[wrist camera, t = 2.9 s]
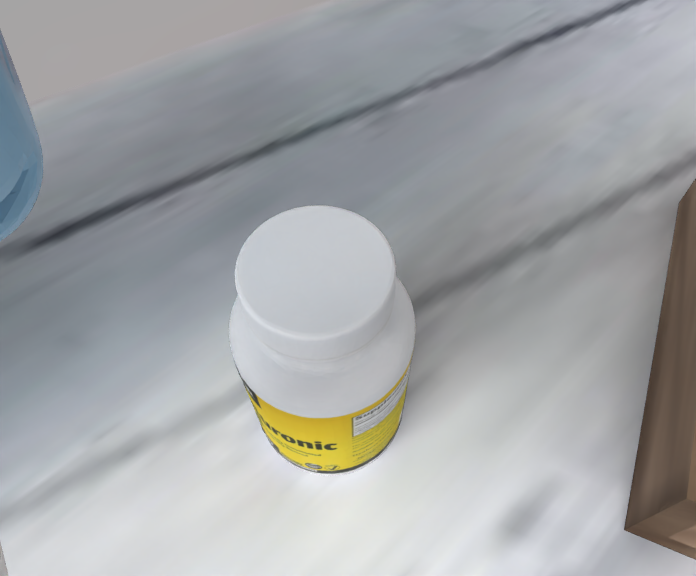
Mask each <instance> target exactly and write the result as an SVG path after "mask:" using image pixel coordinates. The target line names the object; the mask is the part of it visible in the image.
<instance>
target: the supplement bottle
mask: <svg viewBox="0 0 696 576" xmlns="http://www.w3.org/2000/svg"><path fill="white" fill-rule="evenodd" d="M235 285H236V290H237V293H238V296H237V298H236V300H235V302H234V305H233V308H232V311H231V316H230V322H229V341H230V348H231V351H232V355H233V358H234V362H235V365H236V368H237V370H238V372H239V375H240V377H241V379H242V381H243V383H244V386H245V388H246V391H247V393H248V395H249V397H250V400H251V402H252V404H253V406H254V409H255V411H256V414H257V416H258V418H259V421H260V423H261V426H262V429H263V431H264V433H265V434H266V436H267V438H268V440H269V442H270V443H271V445H272V446H273V448H274V449H275V450H276V452H277V453H278V454H279V455H280V456H281V457H282V458H283V459H284V460H286V461H287V462H288V463H290V464H291V465H293V466H294V467H296V468H298V469H300V470H302V471H305V472H308V473H312V474H316V475H321V476H339V475H345V474H349V473H352V472H355V471H357V470H360V469H362V468H364V467H366V466H367V465H369V464H370V463H372V462H373V461H375V460H376V459H377V458H378V457H379V456H380V455H381V454H382V453H383V452H384V451H385V450H386V449H387V447H388V446H389V445H390V443H391V442H392V440H393V438H394V436H395V434H396V432H397V430H398V427H399V425H400V421H401V417H402V411H403V407H404V400H405V394H406V389H407V383H408V377H409V372H410V365H411V360H412V355H413V349H414V344H415V328H416V327H415V315H414V310H413V306H412V302H411V300H410V297H409V295H408V293H407V291H406V289H405V287H404V286H403V284H402V282H401V281H400V280H399V278H398V277H397V276H396V262H395V258H394V254H393V251H392V248H391V246H390V244H389V242H388V240H387V239H386V237H385V236H384V235H383V233H382V232H381V231H380V230H379V229H378V228H377V227H376V226H375V225H374V224H373V223H371V222H370V221H369V220H367V219H366V218H364V217H362V216H361V215H359V214H357V213H354V212H352V211H349V210H347V209H343V208H339V207H334V206H325V205H312V206H302V207H298V208H293V209H290V210H287V211H284V212H281V213H279V214H277V215H275V216H273V217H271V218H270V219H268V220H266V221H265V222H264V223H262V224H261V225H260V226H259V227H258V228H256V229H255V230H254V231H253V232H252V234H251V235H250V236H249V237H248V238H247V240H246V241H245V243H244V244H243V246H242V248H241V250H240V253H239V255H238V258H237V261H236V267H235Z"/></svg>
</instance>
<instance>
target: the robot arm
mask: <svg viewBox="0 0 696 576" xmlns="http://www.w3.org/2000/svg"><path fill="white" fill-rule="evenodd" d="M42 178H43V156H42V149H41V145H40V141H39V137H38V133H37V130H36V127H35V124H34V121H33V117H32V114H31V111H30V108H29V106H28V103H27V100H26V98H25V94H24V92H23V89H22V86H21V83H20V81H19V78H18V75H17V73H16V70H15V67H14V64H13V62H12V59H11V56H10V54H9V51H8V48H7V46H6V43H5V41H4V38H3V36H2V33H1V30H0V241H1V240H3V239H4V238H6V237H7V236H8V235H10V234H11V233H12V232H13V231H14V230H16V229H17V228H18V227H19V226H20V224H21V223H22V222H23V221H24V220H25V218H26V217H27V216H28V214H29V213H30V211H31V210H32V208H33V206H34V204H35V202H36V200H37V197H38V194H39V190H40V187H41V183H42ZM0 576H8V572H7V568H6V563H5V559H4V555H3V551H2V547H1V542H0Z"/></svg>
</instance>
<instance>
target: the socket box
mask: <svg viewBox="0 0 696 576" xmlns="http://www.w3.org/2000/svg"><path fill="white" fill-rule="evenodd" d="M624 530H625V531H628V532H630V533H633V534H635V535H638V536H640V537H642V538H645V539H647V540H650V541H652V542H654V543H657V544H659V545H662V546H664V547H667V548H669V549H671V550H674V551H676V552H679V553H681V554H684V555H686V556H688V557H691V558H693V559H696V179H695V181H694V182H693V183H692V185H691V186H690V188H689V189H688V191H687V192H686V194H685V195H684V196H683V198H682V199H681V201H680V202H679V207H678V213H677V219H676V225H675V231H674V237H673V242H672V248H671V254H670V260H669V266H668V272H667V278H666V284H665V290H664V296H663V302H662V308H661V314H660V320H659V326H658V332H657V338H656V344H655V350H654V356H653V361H652V367H651V373H650V379H649V385H648V391H647V397H646V403H645V409H644V415H643V421H642V427H641V433H640V439H639V445H638V451H637V457H636V463H635V469H634V475H633V480H632V486H631V492H630V498H629V504H628V510H627V516H626V522H625V528H624Z"/></svg>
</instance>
